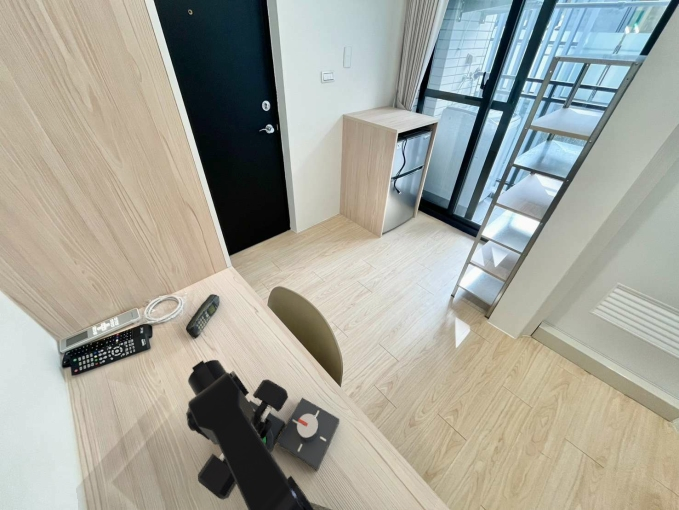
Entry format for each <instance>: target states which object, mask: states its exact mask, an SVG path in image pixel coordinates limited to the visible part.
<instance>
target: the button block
mask: <svg viewBox="0 0 679 510" xmlns="http://www.w3.org/2000/svg"><path fill="white" fill-rule="evenodd" d="M248 401H249V403H250V404H251V406H252V407H253V409H254V410H255V411H256V410H257V408H258V407H259V404H257V403H255V402H254V401H252V400H248ZM264 412H266V411H264ZM263 414H264V413H263ZM266 418H267V419H268V420H270V421H271V422H272V426H271V428H270V429H269V431H268V433H267V434H266V436H265V437H266V439H267V444H266V446H267V448H268V449H269V451H270V452H271V453H272V451H273V450H274V446H275V444H276V442H277V441H278V439H279V438H280V436H281V434H282V432H283V431H284V429H285V427H286V425H287V424H286V422H285V421H284V420H283V419H281V418H280V417H278V416H276V415H275V414H273V413H271V412H270V413H269V414H268V416H267V417H266Z"/></svg>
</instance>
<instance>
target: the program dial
mask: <svg viewBox="0 0 679 510" xmlns="http://www.w3.org/2000/svg"><path fill="white" fill-rule="evenodd" d="M297 431H298V433H299V435H300V437H301V439H302V440H303V441H305V442H311V441H313V440H314V439H315V438H316V437H317V435H318V433H319V426H318V421H317V419H316V417H315V416H314V415H312V414H304V415H303V416H301V417H300V418H299V420H298V423H297Z"/></svg>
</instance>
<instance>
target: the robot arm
mask: <svg viewBox="0 0 679 510" xmlns="http://www.w3.org/2000/svg"><path fill="white" fill-rule="evenodd" d="M191 368H192V371H191V373H190V375H189V377H188V379H187V383H188V385H189V386H190V388H191V390H192V391H193V393H194V395H195V396H194V397H193V398H191V399H190V400H189V401H188V403H187V406H188V408H187V411H186V413H185V415H186V423H187V424H186V425H187V427H188V429H190V431H192V432H196V433H197V434H198V435H200V436H201V437H203V438H205V439H206V440H207V441H210V442H211V443H212V444H213V445H217V446H219V449H220V451H221V454H220V455H219V457H218V456H217V455H215V454H214V453H211V455H210V456H209V458H208V459H207V460H206V462H205V464H204V465H203V466H202V468H201V469H200V470H199V472H198V474H197V482H198V483H199V484H201V485H202V486H203V487H204V488H205V489H206V490H208V491H209V492H210V493H212V495H214V496H215V497H216V498H218V499H219V500H226V499H228V498H229V497H230V496H231V494H232V492H233V491H234V489H235V487H236V486H237V488H238V491H239V492H240V495H241V497H242V499H243V501H244V503H245V506H246V508H247V510H333V509H331V508H329V507H326V506H323V505H320V504H317V503H314V502H311V501H310V499H308V497H307V496H306V494H305V492H304V491H303V490H302V489H301V487H300V486H299V484H298V483H297V482H296V480H295V478H294V477H293V476H292V475H289V477H287V475H286V474H285V473H284V470H283V469H282V467H281V466H280V465H279V463H278V462H277V460H276V459H275V457H274V455H273V454H272V451H271V452H270V451H269V449H268V448H267V446H266V444H265V443H264V441H263V439H264V438H265V436H266V434H267V433H268V431H269V429H270V428H271V426H272V422H271V421H270V420H268V419H267V418H266V417H267V416H268V414H269V413H271V411H272V410H273V409H274V410H275V411H276V412H277V413H278V412H280V411H281V410H282V408H283V406H284V405H285V403H286V402H287V401H288V398H289V394H288V391H287V390H286V389H285V388H284V387H282V386H281V385H279V384H277V383H275V382H274V381H272V380H270V379H269V378H268V379H267V378H266V379H263V380H262V381H261V382H260V384H259V385H258V386H257V388H256V390H254V392H253V394H252V397H253V398H254V399H258V400H259V401H261V402H260V404H258V406H259V407H258V408H257V410H256V411H255V410H254V409H253V407H252V406H251V404H250V403H249V401H250V400H248V399H247V395H248V394H250V392H249V390H248V389H247V387H246V386H245V385H244V383H243V382H242V380H241V379H240V377H239V376H238V375H237V374H236V372H235V371H234V370H232V371H231V372H227V370H226V369H225V368H224V366H223V365H222V363H221V362H220V360H219V359H211V360H207V361H204V360H201V361H199V362H198V363H197V364H195V365H194V366H192V367H191ZM272 408H273V409H272ZM264 411H266V412H264ZM263 413H264V414H263Z"/></svg>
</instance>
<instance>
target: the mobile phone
mask: <svg viewBox="0 0 679 510" xmlns="http://www.w3.org/2000/svg"><path fill="white" fill-rule="evenodd" d="M219 304H220V296H219V295H217V294H213V293H210V294H209V295H208V297H206V299H205V300H204V301H203V302H202V303H201V305H200V306H199V308H197V310H196V312H194V314H193V316H192V317H191V318H190V319H189V321H188V323H187V324H186V327H185V331H186V333H187V334H188V335H189V336H190V337H191V338H193V339H197V338H198V337H199V336H200V334H201V332H203V330H204V328H205V326H206V325H207V324H208V322H209V321H210V319H211V318H212V317H213V315H215V313H216V312H217V309H218V307H219Z"/></svg>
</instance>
